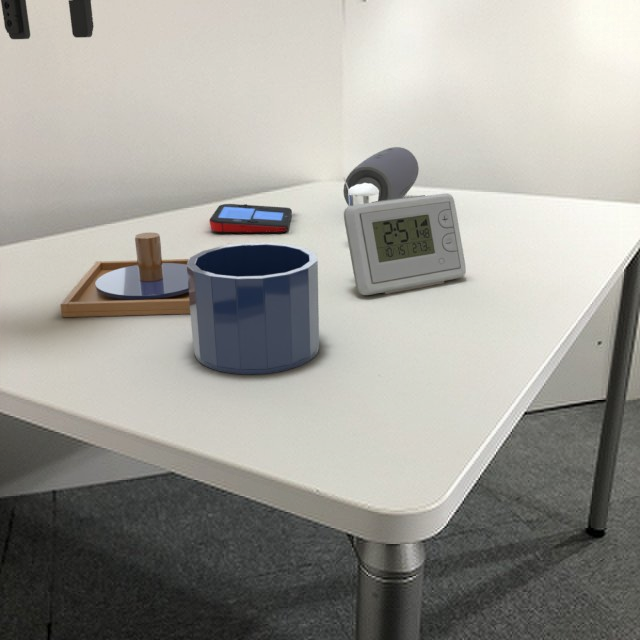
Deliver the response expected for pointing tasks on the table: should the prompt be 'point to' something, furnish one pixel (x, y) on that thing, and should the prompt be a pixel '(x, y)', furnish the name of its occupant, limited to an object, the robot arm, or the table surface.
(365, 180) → the bluetooth speaker
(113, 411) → the table surface
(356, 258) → the digital clock
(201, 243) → the table surface
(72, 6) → the robot arm
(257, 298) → the pot
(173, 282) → the pot lid
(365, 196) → the milkshake
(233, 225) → the game console
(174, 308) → the wooden tray
